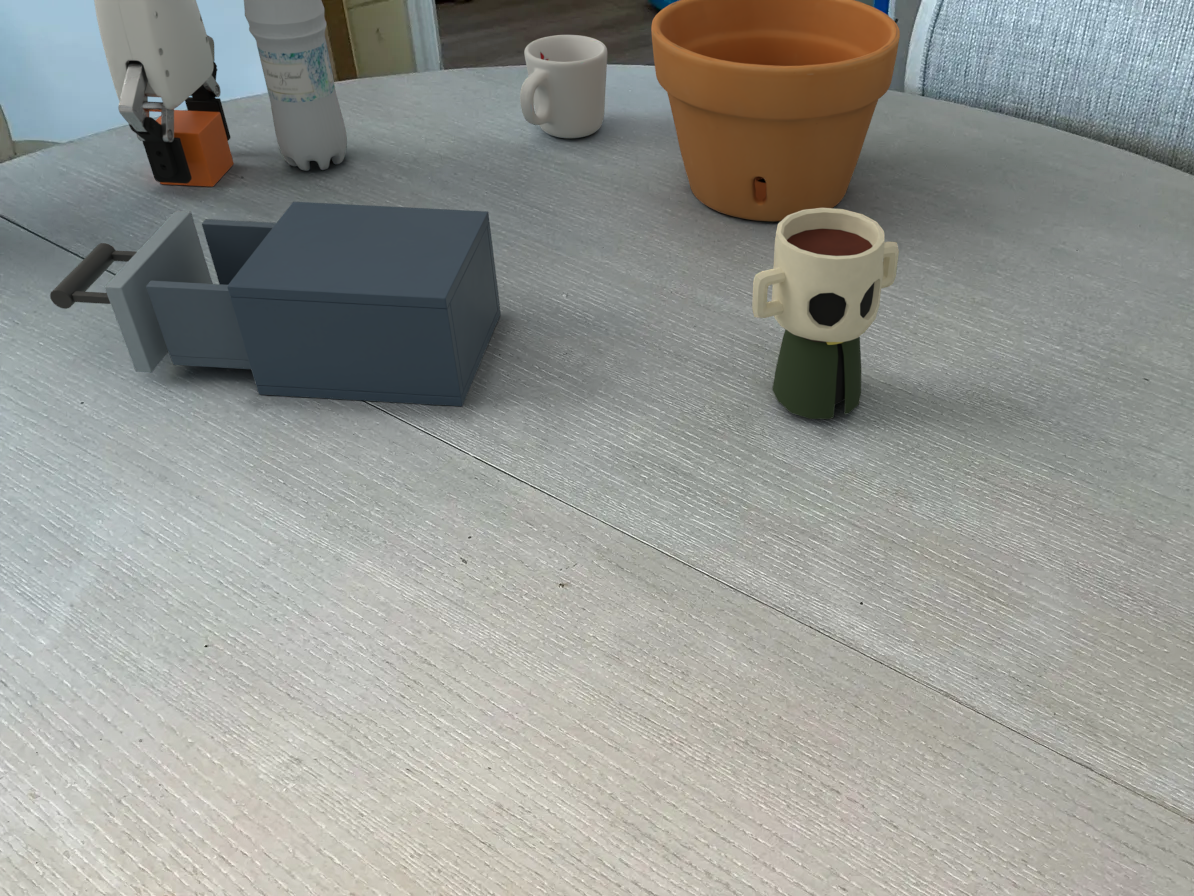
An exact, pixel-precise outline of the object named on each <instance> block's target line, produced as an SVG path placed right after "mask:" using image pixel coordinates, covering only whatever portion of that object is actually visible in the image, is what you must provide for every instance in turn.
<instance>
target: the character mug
mask: <svg viewBox="0 0 1194 896" xmlns="http://www.w3.org/2000/svg"><path fill="white" fill-rule="evenodd" d="M773 249H774V251H773V268H770V269H765V270H762V271H759V272H758V273H756V274H755V275H754V278H753V281H752V282H753V283H752V302H751V303H752V304H751V308H752V309H751V310H752V314H753V317H754V318H757V319H767V318H771V317H773V318H774V319H775V321H776V322H777V323H778V324H779V326H780V327H781V328H783V329H784V333H783V335H782V339H781V344H780V348H779V353H778V358H777V362H776V366H775V370H774V371H775V372H774V377H773V383H772V389H771V390H772V392H773V394H774V396H775V399H776V400H777V402H778V403H779V404H781V406H783V407H784V408H785V409H786V410H787V411H788V412H789V413H790V414H793V415H796V416H799V417H803V418H806V419H809V420H810V419H811V420H830V419H833V418H834V417H835V406H836V405H838V404H840V403H841V402H843V401H844V415H847V414H850V413H851V412H852V411H853V410H854V409H855V408H857V407H858V406H859V404H860V399H861V396H862V394H861V393H862V353H861V336H862V335H864V333H866V332H867V330H868V329H869V328H870V327H871V326H872V324H873V323H874V322H875V321H876V318H877V316H878V312H879V309H880V305H881V294H882V289H886V288H889V287H890V286H892V285H894V283H895V281H896V277H897V269H898V262H899V253H900V250H899V246H898V242H897V241H886V240H885V231H884V229H883V228H882V227H881V225H880V224H879V223H878V221H876V220H874V219H872V218H870V217H869V216H866V215H865V214H863V213H859V212H855V211H851V210H848V209H843V208H834V207H833V208H816V209H806V210H801V211H798V212H796V213H793V214H790V215H787V216H786V217H785V218H784V219H783V220H782V221H778V223H777V227H776V232H775V238H774V248H773ZM769 286H772V287H771V288H772V289H771V301H768V292H769V291H768V289H769Z"/></svg>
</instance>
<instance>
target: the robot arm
mask: <svg viewBox="0 0 1194 896" xmlns="http://www.w3.org/2000/svg"><path fill="white" fill-rule="evenodd" d="M93 4H94V9H95V15H96V20H97V25H98V30H99V35H100V38H101V43H102V47H103V51H104V55H105V58H106V63H107V66H108V69H109V70H108V71H109V73H110V77H111V80H112V84H113V87H114V90H115V93H116V96H117V99H118V106H117V108H118V112H119V114H120V115H121V116H122V118H123V119H124V121H126V123H127V124H128V126H129V128H130V130H131V131H132V132H133V133H134V134H136V138H137V140H138V141H139V142H142V145H143V148H144V150H145V154H146V157H147V160H148V163H149V166H150V169H151V173H152V175H153V178H154V180H155V181H156V182H158V183H160V182H166V183H189V182H190V181H191V179H192V177H191V174H190V170H189V167H188V164H187V160H186V157H185V154H184V150H183V147H182V144H181V140H180V138H174V110H176V109H177V108H178V107H179V106H180V105H182V104H183V103H184V102H185V106H186V111H207V112H220V114H221V118H222V121H223V125H224V129H225V133H226V136H227V140H228V142H229V141H230V140H231V134H230V130H229V129H230V128H229V126H228V122H227V119H226V115H225V111H224V107H223V104H222V100H221V98H220V96H221V86H220V84H219V83H218V82H217V73H218V65H217V63H216V62H215V40H214V37H211V36H210V35H208V34H207V31H206V28H205V24H204V21H203V17H202V14H201V11H200V9H199V5H198V1H197V0H93ZM149 98H161V101H149V100H148V99H149ZM150 112H153V113H155V112H156V113H160V116H161V124H159V123H158V122H157V121H156V120H157V119H154V118H153V117H152V116H150Z"/></svg>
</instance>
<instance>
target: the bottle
mask: <svg viewBox="0 0 1194 896" xmlns="http://www.w3.org/2000/svg"><path fill="white" fill-rule="evenodd" d="M243 7H244V17H245V19H246V21H247V23H248V31H249V33H250V34H251V35H252V37H253V38H254V40H255V43H256V48H257V52H258V56H259V60H260V64H261V68H262V69H261V70H262V74H263V77H264V81H265V86H266V90H267V94H268V97H269V102H270V109H271V115H272V121H273V127H274V131H275V132H274V133H275V138H276V141H277V146H278V148H279V151H280V154H281V155H282V157H283V159H284V161H285V162H286V163H287V164H289V166H292V167H298V169H300V170H302V171H310V169H311V163H310V162H312V161H314V162H316V163H317V164H318V167H319V169H320V170H322V171H325V170H328V169H329V167H330V162H331V160H332V163H333V164H335V165H340V164H341V163H343V161H344V160H345V157H346V152H347V147H348V135H347V129H346V124H345V120H344V117H343V114H342V109H341V106H340V101H339V99H338V95H337V91H336V85H335V80H334V75H333V69H332V64H331V59H330V54H329V50H328V49H329V48H328V44H327V39H326V34H325V33H326V29H327V20H326V19H325V7H324V4H323V1H322V0H243Z"/></svg>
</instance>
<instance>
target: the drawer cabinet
mask: <svg viewBox="0 0 1194 896" xmlns="http://www.w3.org/2000/svg"><path fill="white" fill-rule="evenodd" d="M275 223H276V224H275V226H274V227H273V228H272V229H271V231H270V232H269V233H268V235H267V236H266V237H265V238H264V240H263V241H262V242H261V244H260V245H259V246H258V247H257V249H256V250H255V251H254V252H253V254H252V255H251V256H250V258H249V259H248V260H247V261H246V263H245V264H244V265H243V267H242V268H241V269H240V270H239V272H238V273H237V274H236V276H235V277H234V278H233V279H232V281H231V282H230V283H229V285H228V286H227V288H228V292H229V295H230V298H231V302H232V305H233V309H234V312H235V315H236V319H237V322H238V326H239V329H240V332H241V336H242V339H243V343H244V346H245V349H246V353H247V356H248V360H249V363H250V367H251V369H250V370H251V373H252V376H253V380H254V383H255V385H256V386H255V387H256V390H257V393H258V395H262V396H279V397H294V398H295V397H298V398H314V399H327V400H330V399H332V400H347V401H349V400H350V401H364V402H383V403H397V404H398V403H399V404H414V405H415V404H416V405H417V404H419V405H434V406H449V407H463V405H464V403H465V401H466V397H467V396H468V393H469V391H470V388H471V386H472V385H473V384H472V383H473V381H474V378H475V376H476V374H477V372H478V369H479V366H480V364H481V362H482V360H483V357H484V355H485V352H486V351H487V347H488V345H489V343H490V341H491V338H492V336H493V333H494V330H495V328H496V326H497V323H498V321H499V320H500V317H501V314H502V313H501V306H500V305H501V303H500V295H499V289H498V287H499V286H498V279H497V278H498V277H497V271H496V263H495V255H494V246H493V245H494V244H493V239H492V237H493V236H492V230H491V222H490V213H489V211H487V210H466V209H451V208H450V209H449V208H431V207H430V208H429V207H411V206H410V207H408V206H390V205H389V206H388V205H372V204H371V205H370V204H369V205H368V204H353V203H352V204H351V203H332V202H314V201H313V202H311V201H309V202H308V201H292V202H291V203H290V204H289V206H288V207H287V209H286V210H285V211H284V213H283V214H282V215H281V216H280V218H279V219H278V220H277V222H275Z"/></svg>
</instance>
